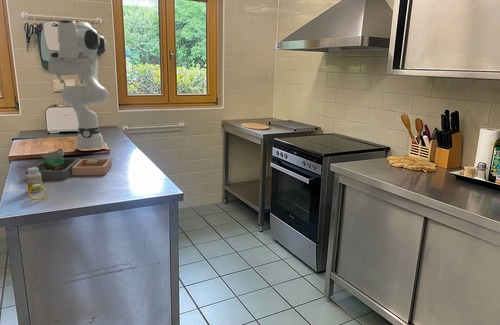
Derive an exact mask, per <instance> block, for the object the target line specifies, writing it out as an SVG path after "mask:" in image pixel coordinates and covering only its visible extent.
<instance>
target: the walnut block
mask: <svg viewBox="0 0 500 325" xmlns="http://www.w3.org/2000/svg"><path fill="white" fill-rule="evenodd" d="M92 166H99V160H88V161H87V162H86V167H92Z"/></svg>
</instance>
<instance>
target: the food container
mask: <svg viewBox="0 0 500 325" xmlns="http://www.w3.org/2000/svg"><path fill="white" fill-rule="evenodd" d="M64 155H65V151H64V150H63V149H62V148H58V149H57V150H54V151H50V152H48V153H43V152H42V153H41V158H42V161H44V166H45V169H44V171H58V170H65V168H64V167H65V166H63V158H64Z"/></svg>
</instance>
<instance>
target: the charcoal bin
mask: <svg viewBox="0 0 500 325" xmlns="http://www.w3.org/2000/svg"><path fill="white" fill-rule="evenodd" d="M81 159H82V158H79V157H73V158H72V157H71V158H69V157H67V158H66V157H65V158H64V157H63V167H66V168H64V170H58V171H46V170H45V166H44V161H43V160H41V161H40V162H39V163H37V164H35V165H34V166H33V167H37V168H39V173H41V177H42V181H48V180H51V181H52V180H57V181H59V180H67V179H69V178H70V177H71V175H72V176H73V174H72V167H73V166H74V165H75V164H76V163H78V162H79V161H80V160H81ZM33 167H31V168H33ZM25 174H26V175H25V176H27V174H28V170H26V171H25Z"/></svg>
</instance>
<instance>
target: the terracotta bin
mask: <svg viewBox="0 0 500 325" xmlns="http://www.w3.org/2000/svg"><path fill="white" fill-rule="evenodd" d="M88 160H99V166H92V167H86V162H87V161H88ZM112 160H113V159H112V158H81V160H80V161H79V162H78V163H76V164H75V165H74V166H73V167H72V176H106V175H107V173H108V172H109V171H110V169H111V168H112V167H113V162H112Z"/></svg>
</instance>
